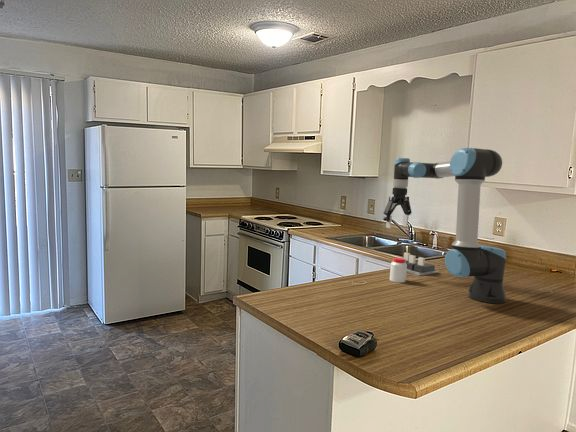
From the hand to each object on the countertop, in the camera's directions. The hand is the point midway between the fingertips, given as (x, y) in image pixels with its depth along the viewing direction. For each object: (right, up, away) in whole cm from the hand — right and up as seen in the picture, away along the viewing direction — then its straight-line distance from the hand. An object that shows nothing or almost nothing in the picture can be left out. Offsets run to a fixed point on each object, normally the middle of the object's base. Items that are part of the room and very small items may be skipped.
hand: (396, 227), depth 233 cm
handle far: (+13, -20, -1) cm, 24 cm away
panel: (+11, -24, +6) cm, 27 cm away
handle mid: (+9, -19, +4) cm, 22 cm away
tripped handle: (+8, -19, +11) cm, 23 cm away
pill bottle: (-4, -26, -17) cm, 32 cm away
